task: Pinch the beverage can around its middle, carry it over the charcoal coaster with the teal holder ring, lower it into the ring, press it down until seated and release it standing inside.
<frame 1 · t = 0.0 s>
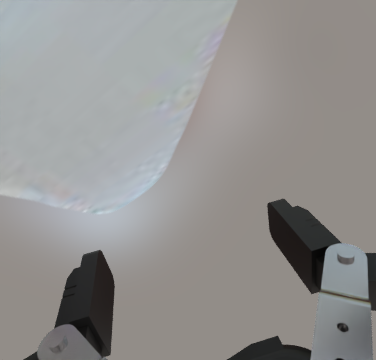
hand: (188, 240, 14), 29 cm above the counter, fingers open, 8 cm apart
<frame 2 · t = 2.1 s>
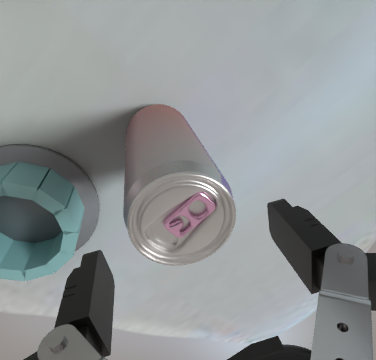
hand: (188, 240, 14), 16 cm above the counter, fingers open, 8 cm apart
beverage can: (157, 133, 28), on the counter
holder: (31, 206, 29), on the counter
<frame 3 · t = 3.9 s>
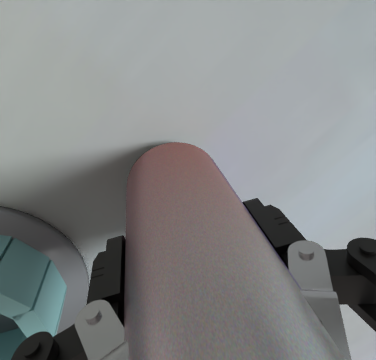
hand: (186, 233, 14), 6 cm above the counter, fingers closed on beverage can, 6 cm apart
beverage can: (172, 180, 19), on the counter, touching gripper
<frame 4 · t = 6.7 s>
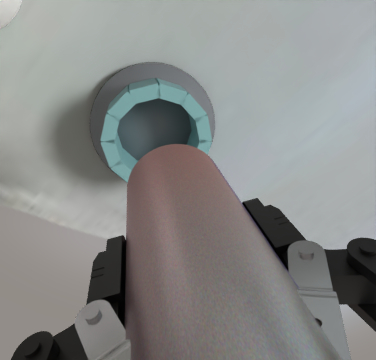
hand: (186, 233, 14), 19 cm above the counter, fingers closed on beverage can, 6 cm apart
beverage can: (173, 182, 19), point 13 cm above the counter, touching gripper
holder: (154, 127, 31), on the counter
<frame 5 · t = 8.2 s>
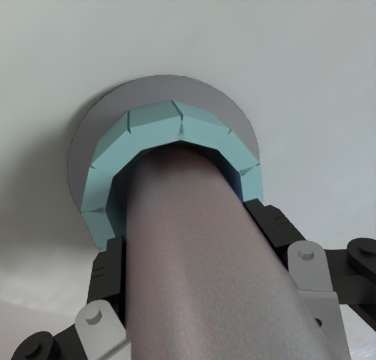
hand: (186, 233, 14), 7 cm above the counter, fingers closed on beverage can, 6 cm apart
beverage can: (173, 182, 19), point 1 cm above the counter, touching gripper
holder: (167, 172, 20), on the counter
when the fingers open (7 cm above the counter, at t = 9.4 s): beverage can stays where it is, resting on holder.
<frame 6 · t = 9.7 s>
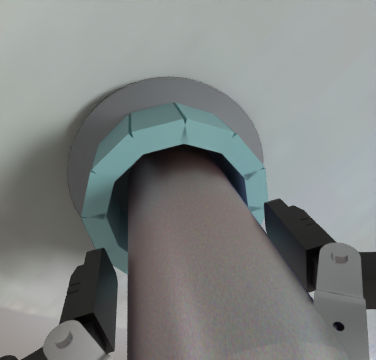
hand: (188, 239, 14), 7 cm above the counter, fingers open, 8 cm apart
beverage can: (173, 178, 19), point 1 cm above the counter, touching holder
holder: (169, 175, 20), on the counter
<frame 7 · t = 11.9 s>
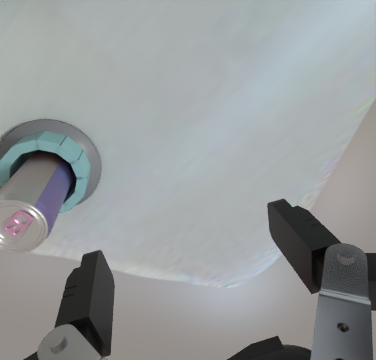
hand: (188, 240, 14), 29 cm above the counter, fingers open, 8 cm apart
beverage can: (53, 167, 40), point 1 cm above the counter, touching holder
holder: (52, 165, 40), on the counter
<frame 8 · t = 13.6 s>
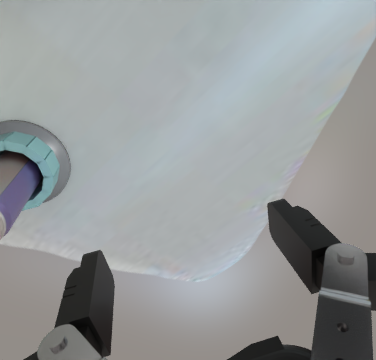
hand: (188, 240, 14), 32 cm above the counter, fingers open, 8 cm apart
beverage can: (23, 165, 42), point 1 cm above the counter, touching holder
holder: (23, 164, 42), on the counter
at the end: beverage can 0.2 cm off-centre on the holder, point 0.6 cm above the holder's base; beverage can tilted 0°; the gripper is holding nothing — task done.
